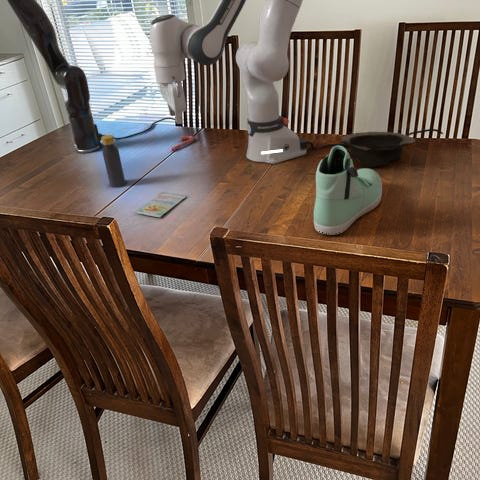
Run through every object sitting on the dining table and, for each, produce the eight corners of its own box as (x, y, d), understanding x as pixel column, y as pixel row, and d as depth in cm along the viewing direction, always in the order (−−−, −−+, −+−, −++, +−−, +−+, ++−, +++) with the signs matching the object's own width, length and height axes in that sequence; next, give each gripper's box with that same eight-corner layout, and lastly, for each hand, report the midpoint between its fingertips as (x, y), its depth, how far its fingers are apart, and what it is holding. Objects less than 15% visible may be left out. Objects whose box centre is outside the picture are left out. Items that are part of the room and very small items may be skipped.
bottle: (126, 185, 164) (116, 138, 155) (110, 188, 163) (99, 141, 154) (124, 179, 168) (114, 134, 160) (109, 182, 167) (98, 136, 159)
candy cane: (162, 149, 191) (161, 146, 190) (186, 137, 201) (185, 134, 201) (173, 152, 188) (172, 148, 187) (197, 139, 198) (197, 136, 197)
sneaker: (389, 187, 148) (396, 123, 138) (356, 242, 123) (361, 168, 112) (346, 181, 154) (350, 119, 144) (306, 232, 129) (307, 161, 118)
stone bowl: (372, 178, 154) (373, 150, 150) (326, 159, 175) (325, 135, 170) (429, 159, 163) (431, 132, 159) (379, 144, 183) (379, 120, 179)
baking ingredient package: (135, 211, 145) (163, 192, 156) (135, 213, 145) (163, 193, 156) (159, 216, 141) (186, 195, 153) (159, 217, 141) (186, 197, 153)
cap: (114, 143, 157) (113, 137, 156) (103, 145, 156) (101, 139, 155) (113, 140, 160) (112, 133, 159) (102, 142, 159) (100, 135, 158)
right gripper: (188, 79, 138) (193, 126, 145) (173, 67, 154) (178, 109, 162) (166, 82, 136) (173, 130, 143) (154, 69, 153) (160, 112, 160)
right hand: (175, 119), depth 153 cm, fingers open, 8 cm apart
